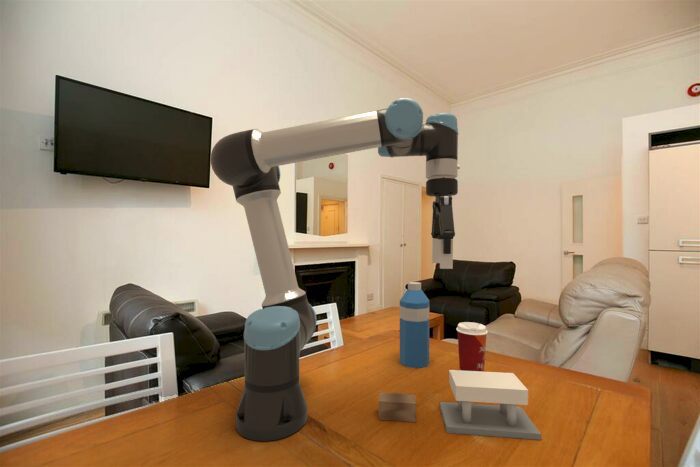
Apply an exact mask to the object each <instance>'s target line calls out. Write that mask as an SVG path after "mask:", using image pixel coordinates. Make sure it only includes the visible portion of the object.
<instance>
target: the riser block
mask: <svg viewBox="0 0 700 467" xmlns="http://www.w3.org/2000/svg"><path fill="white" fill-rule="evenodd" d="M378 420H381V421H397V422H407V423H408V422H409V423H416V422H417V401H416V394H414V393H413V394H412V393H400V392H399V393H397V392H396V393H395V392H381V391H380V392H379V395H378Z"/></svg>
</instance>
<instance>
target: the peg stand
mask: <svg viewBox="0 0 700 467" xmlns="http://www.w3.org/2000/svg"><path fill="white" fill-rule="evenodd" d="M517 405H518V404H502V403H499V405H495V404H481V403H472V402H470V401H457V402H450V401H448V402H447V401H439V409H440V412H441V413H440V414H441V415H442V416H441V417H442V420H443V423H444V427H445V431H446V433H447V434H457V435H468V436H469V435H470V436H471V435H472V436H481V437H482V436H485V437H486V436H487V437H497V438H511V439H523V440H524V439H525V440H535V441H536V440H537V441H538V440H539V441H541V440H542V433H541V431H540V430H539V429H538V428H537V427H536V425H535V424H534V422H533V421H532V420H531V418H530V417H529V415H528V414H527V413H526V411H525V410H524V409H523V407H522V406H517Z"/></svg>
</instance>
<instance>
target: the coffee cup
mask: <svg viewBox="0 0 700 467" xmlns="http://www.w3.org/2000/svg"><path fill="white" fill-rule="evenodd" d="M455 329H456V331H457V342H458V343H457V344H458V345H457V346H458V361H459V362H458V363H459V365H458V366H459V370H462V371H481V372H485V365H486V364H485V362H486V347H487V346H486V345H487V344H486V343H487V334H488V330H487V327H486V325H484V324H482V323H478V322H474V321H473V322H470V321H464V322H463V321H462V322H459V323H458V324H457V327H456V328H455Z"/></svg>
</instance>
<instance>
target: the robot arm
mask: <svg viewBox="0 0 700 467" xmlns="http://www.w3.org/2000/svg"><path fill="white" fill-rule="evenodd" d="M423 123H424V112H423V109H422V107H421V105H420V104H419V103H418V102H417V101H416V100H414V99H413V98H409V97H400V98H397V99H395V100H394V101H392V102H391V103H390V104H389V105H388V106H387V108H382V109H378V110H373V111H367V112H363V113H362V112H361V113H357V114H352V115H347V116H342V117H336V118H332V119H327V120H321V121H316V122H311V123H310V122H309V123H305V124H300V125H295V126H289V127H285V128H284V127H283V128H279V129H273V130H268V131H262V130H260V129H258V128H253V129H252V128H251V129H248V130H247V129H246V130H242V131H237V132H234V133H231V134H227V135H225V136H224V137H222V138H221V139H219V140H218V141H217V142H216V143H215V144H214V146H213V148H212V150H211V153H210V166H211V169H212V171H213V172H214V175H216V177H217V178H218V179H219V180H220V181H221V182H223V183H224V184H227V185H228V186H232V190H233V193H234V197H235V198H234V199H235V201H236V203H238V204H239V205H241V206H242V207H243V209H244V213H245V217H246V220H247V224H248V229H249V233H250V236H251V237H250V238H251V241H252V246H253V248H254V249H253V250H254V254H255V257H256V261H257V265H258V269H259V274H260V277H261V278H260V279H261V281H262V286H263V290H264V294H265V297H264V298H263V301H262V303H261V308H260V309H257V310H254V311H253V312H252V313H250V314H249V315H248V316H247V318H246V319H245V322H244V331H243V340H244V342H243V344H244V346H243V348H244V349H243V350H244V353H243V354H244V355H243V356H244V358H243V359H244V388H243V391H242V394H241V397H240V399H239V400H240V401H239V404H238V407H237V410H236V412H235V413H236V414H235V428H236V431H237V432H238V434H239V435H240V436H241V437H244V438H246V439H249V440H252V441H256V442H259V441H260V442H265V441H266V442H268V441H269V442H270V441H276V440H280V439H284V438H288V437H290V436H292V435H293V434H295V433H297V432H299V430H301V429H302V428H303V427H304V425H305V424H306V422H307V420H308V403H307V401H306V397H305V395H304V391H303V388H302V384H301V383H300V354H301V353H300V352H302V350H303V349H304V347H305V345H307V343H309V341H310V340H311V338H312V337H313V336H314V333H315V331H316V328H317V327H316V326H317V322H318V319H317V315H316V314H317V313H316V311H315V309H314V308H313V306H312V305H311V304H310V303H309V301H308V300H309V299H308V298H307V297H308V296H307V293H306V291H305V290H303V289H301V288H300V287H299V285H298V281H297V275H296V272H295V268H294V264H293V260H292V256H291V253H290V248H289V244H288V240H287V236H286V232H285V228H284V223H283V220H282V216H281V211H280V207H279V203H278V199H279V197H280V196H281V193H282V192H281V188H280V184H279V182H280V179H281V170H280V166H286V165H289V164H290V165H291V164H296V163H300V162H301V163H302V162H306V161H311V160H317V159H322V158H327V157H328V158H329V157H334V156H339V155H345V154H351V153H355V152H360V151H366V150H371V149H376V148H377V153H378V155H379V156H380V157H381V158H382V157H385V158H386V157H387V158H399V157H424V156H425V158H426V159H425V178H426V179H427V180H426V182H425V195H427V196H428V197H435V198H434V199H435V200H434V201H433V202H432V220H431V232H430V234H431V238H432V240H431V243H432V244H431V245H432V246H431V247H432V250H431V254H432V256H431V258H432V262H431V263H432V264H439V269H441V270H443V269H444V270H445V269H446V270H450V269H451V270H453V269H454V268H453V267H454V266H453V264H454V260H453V258H454V257H453V256H454V255H453V254H454V248H453V247H454V246H453V245H454V237H455V236H456V232H455V223H454V213H453V212H454V211H453V210H454V209H453V197H454V196H456V195H457V194H458V191H459V189H458V188H459V187H458V186H459V183H458V181H459V180H458V179H457V177H458V170H460V168H461V165H459V164H458V158H459V157H458V154H459V152H458V150H459V149H458V148H459V144H458V141H459V137H458V136H459V132H458V131H459V128H458V119H457V116H456V115H454V114H453V113H450V112H439V113H434V114H430V115H429V116H428V117H427V118H426V120H425V124H423Z"/></svg>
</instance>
